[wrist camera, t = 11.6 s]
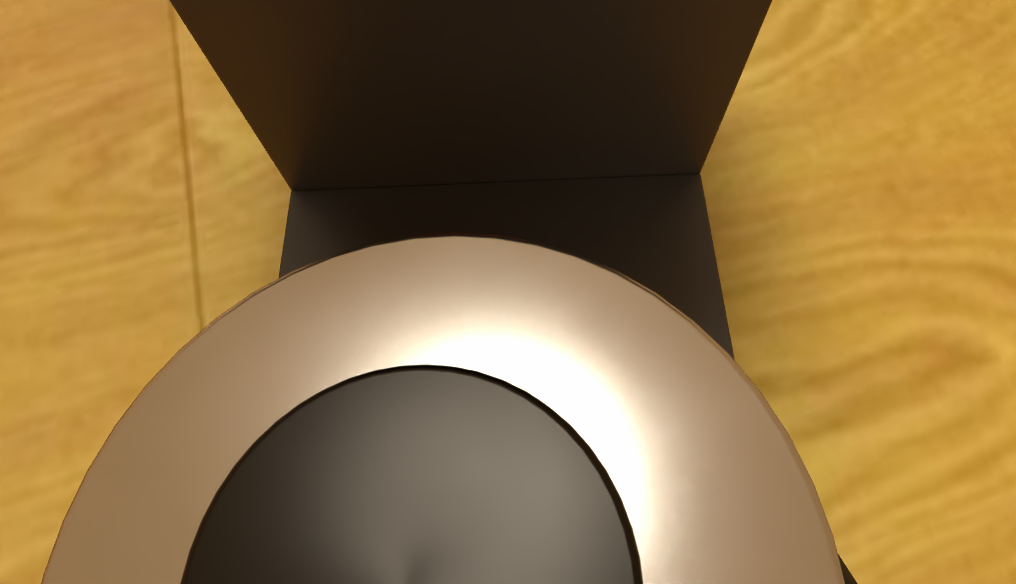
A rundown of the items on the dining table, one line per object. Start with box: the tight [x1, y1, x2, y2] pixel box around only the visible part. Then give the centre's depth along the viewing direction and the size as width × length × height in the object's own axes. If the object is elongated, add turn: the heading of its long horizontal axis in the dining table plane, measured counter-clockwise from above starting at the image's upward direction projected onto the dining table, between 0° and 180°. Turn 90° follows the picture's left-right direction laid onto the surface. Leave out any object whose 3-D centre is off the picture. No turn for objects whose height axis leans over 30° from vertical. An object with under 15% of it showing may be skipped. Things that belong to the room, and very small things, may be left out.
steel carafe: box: [41, 233, 845, 584], centre depth 9 cm, size 6×6×12 cm
